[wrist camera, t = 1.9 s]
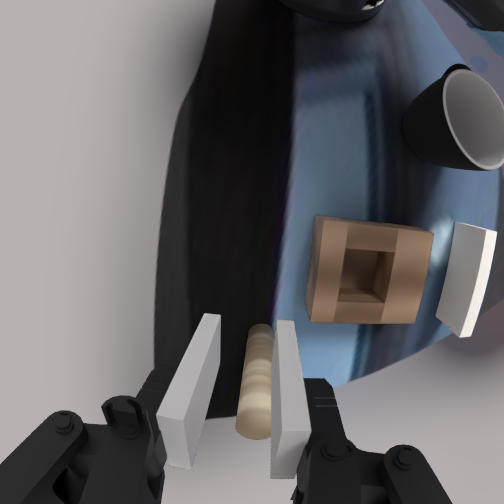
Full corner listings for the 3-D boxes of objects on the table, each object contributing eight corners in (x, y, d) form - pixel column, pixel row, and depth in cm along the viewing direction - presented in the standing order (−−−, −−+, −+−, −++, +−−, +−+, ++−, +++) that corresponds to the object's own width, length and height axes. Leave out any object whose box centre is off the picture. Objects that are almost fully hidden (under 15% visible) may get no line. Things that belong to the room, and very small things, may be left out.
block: (314, 215, 27) (323, 220, 23) (413, 226, 27) (434, 233, 23) (304, 303, 30) (310, 322, 25) (397, 306, 29) (414, 323, 25)
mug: (447, 183, 26) (506, 187, 16) (384, 153, 25) (436, 140, 16) (460, 97, 23) (511, 78, 13) (401, 63, 23) (444, 26, 13)
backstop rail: (455, 221, 26) (486, 230, 21) (466, 223, 26) (496, 232, 20) (435, 315, 29) (459, 337, 23) (446, 315, 29) (470, 336, 23)
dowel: (248, 322, 30) (236, 412, 17) (276, 324, 30) (280, 415, 17) (247, 345, 31) (234, 437, 17) (273, 347, 31) (275, 440, 17)
